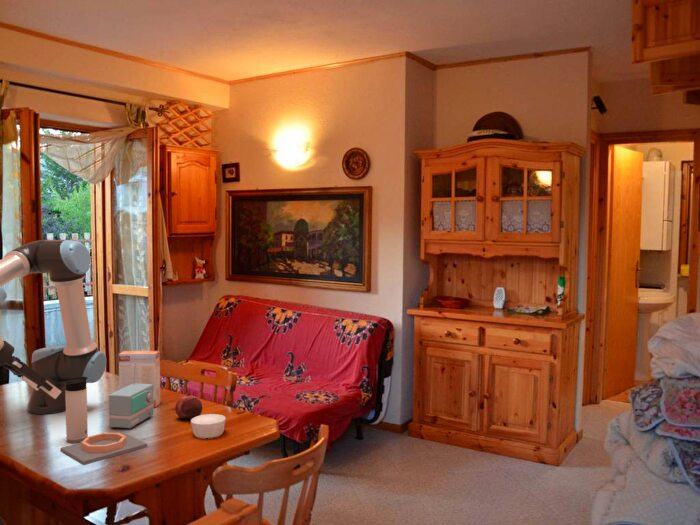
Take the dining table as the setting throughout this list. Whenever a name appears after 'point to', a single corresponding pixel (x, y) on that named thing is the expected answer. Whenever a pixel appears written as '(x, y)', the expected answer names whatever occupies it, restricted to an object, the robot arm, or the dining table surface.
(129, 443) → the mug stand
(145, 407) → the radio
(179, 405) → the fruit
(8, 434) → the dining table surface
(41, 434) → the dining table surface
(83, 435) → the travel mug
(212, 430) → the ramekin
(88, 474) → the dining table surface
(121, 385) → the cracker box
